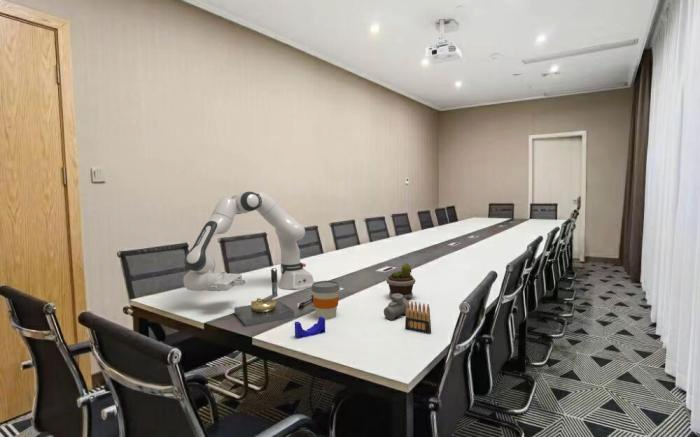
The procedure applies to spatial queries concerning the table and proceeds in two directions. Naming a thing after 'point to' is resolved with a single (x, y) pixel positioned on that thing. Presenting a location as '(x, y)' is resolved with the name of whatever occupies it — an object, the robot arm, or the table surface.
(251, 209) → the robot arm
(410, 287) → the flowerpot
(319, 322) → the blue cradle stand
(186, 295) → the table surface
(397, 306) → the pipe fitting
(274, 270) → the brass base with rod
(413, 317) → the ammunition clip
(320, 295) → the reusable coffee cup
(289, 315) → the cap plate
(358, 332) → the table surface
